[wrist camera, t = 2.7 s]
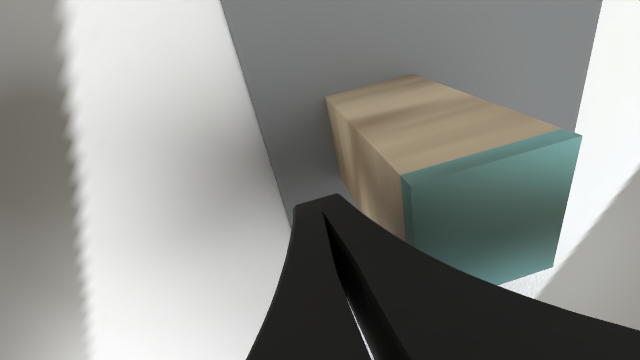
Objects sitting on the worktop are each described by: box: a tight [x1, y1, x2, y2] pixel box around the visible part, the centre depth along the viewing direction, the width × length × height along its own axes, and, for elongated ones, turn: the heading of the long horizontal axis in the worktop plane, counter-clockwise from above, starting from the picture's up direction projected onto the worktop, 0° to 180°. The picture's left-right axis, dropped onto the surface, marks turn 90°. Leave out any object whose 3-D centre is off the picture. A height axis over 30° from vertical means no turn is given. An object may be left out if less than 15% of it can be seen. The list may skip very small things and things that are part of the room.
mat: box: [221, 0, 602, 230], centre depth 15 cm, size 16×16×1 cm
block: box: [325, 74, 582, 285], centre depth 11 cm, size 4×4×8 cm
